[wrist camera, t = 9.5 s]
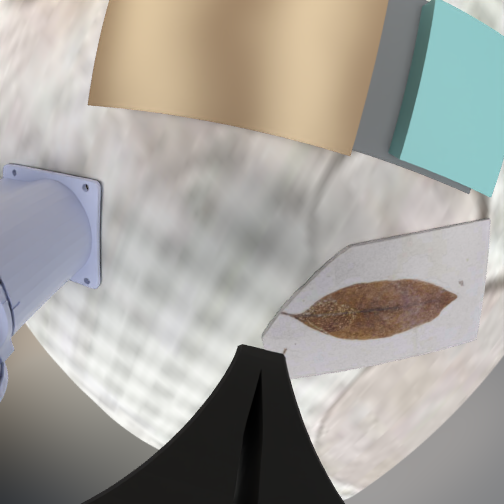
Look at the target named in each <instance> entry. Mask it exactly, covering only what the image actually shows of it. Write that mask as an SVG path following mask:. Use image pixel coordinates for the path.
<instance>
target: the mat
mask: <svg viewBox="0 0 504 504" xmlns="http://www.w3.org/2000/svg"><path fill="white" fill-rule="evenodd" d="M427 3H428V1H426V0H389V1H388V6H387V11H386V16H385V20H384V25H383V30H382V34H381V39H380V43H379V48H378V52H377V57H376V61H375V65H374V69H373V73H372V77H371V81H370V85H369V89H368V93H367V97H366V101H365V105H364V109H363V112H362V116H361V120H360V123H359V127H358V131H357V134H356V138H355V141H354V145H353V148H352V150H354V151H357V152H361V153H364V154H367V155H370V156H373V157H376V158H379V159H381V160H384V161H387V162H390V163H393V164H396V165H398V166H401V167H404V168H407V169H409V170H412V171H414V172H417V173H420V174H422V175H425V176H427V177H430V178H432V179H435V180H437V181H440V182H442V183H444V184H447V185H449V186H452V187H454V188H456V189H459V190H461V191H463V192H465V193H468V194H469V193H470V190H471V188H469V187H467V186H465V185H462V184H460V183H458V182H456V181H453V180H451V179H449V178H446V177H444V176H441V175H439V174H437V173H434V172H432V171H429V170H427V169H424V168H421V167H419V166H416V165H414V164H411V163H408V162H406V161H403V160H400V159H398V158H396V157H395V156H393V155H391V154H389V153H388V152H389V149H390V145H391V142H392V138H393V135H394V131H395V128H396V124H397V120H398V117H399V113H400V109H401V105H402V101H403V97H404V93H405V89H406V85H407V80H408V76H409V72H410V67H411V63H412V58H413V53H414V48H415V43H416V38H417V33H418V28H419V22H420V16H421V10H422V6H424V5H425V4H427Z"/></svg>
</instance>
